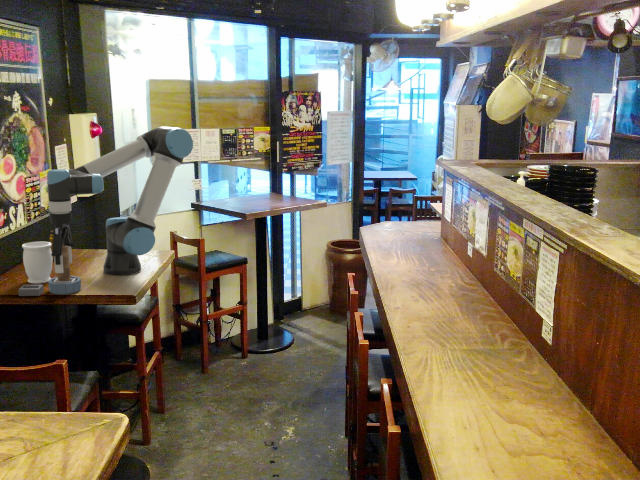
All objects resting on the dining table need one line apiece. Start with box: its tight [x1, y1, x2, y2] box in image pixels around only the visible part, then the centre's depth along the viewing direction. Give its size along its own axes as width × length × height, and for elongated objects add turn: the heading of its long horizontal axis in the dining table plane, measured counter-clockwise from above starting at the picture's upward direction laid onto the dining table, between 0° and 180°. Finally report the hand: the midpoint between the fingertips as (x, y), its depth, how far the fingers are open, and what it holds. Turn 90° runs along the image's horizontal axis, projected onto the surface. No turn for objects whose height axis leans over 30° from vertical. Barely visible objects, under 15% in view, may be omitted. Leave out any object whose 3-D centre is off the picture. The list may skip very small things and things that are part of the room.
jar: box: [21, 240, 54, 285], centre depth 236 cm, size 11×10×15 cm
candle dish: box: [47, 275, 82, 296], centre depth 227 cm, size 11×11×4 cm
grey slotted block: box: [18, 284, 45, 297], centre depth 222 cm, size 7×6×2 cm
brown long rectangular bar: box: [57, 246, 72, 281], centre depth 226 cm, size 4×2×16 cm, turn 100°
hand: (63, 267), depth 226 cm, fingers open, 13 cm apart
